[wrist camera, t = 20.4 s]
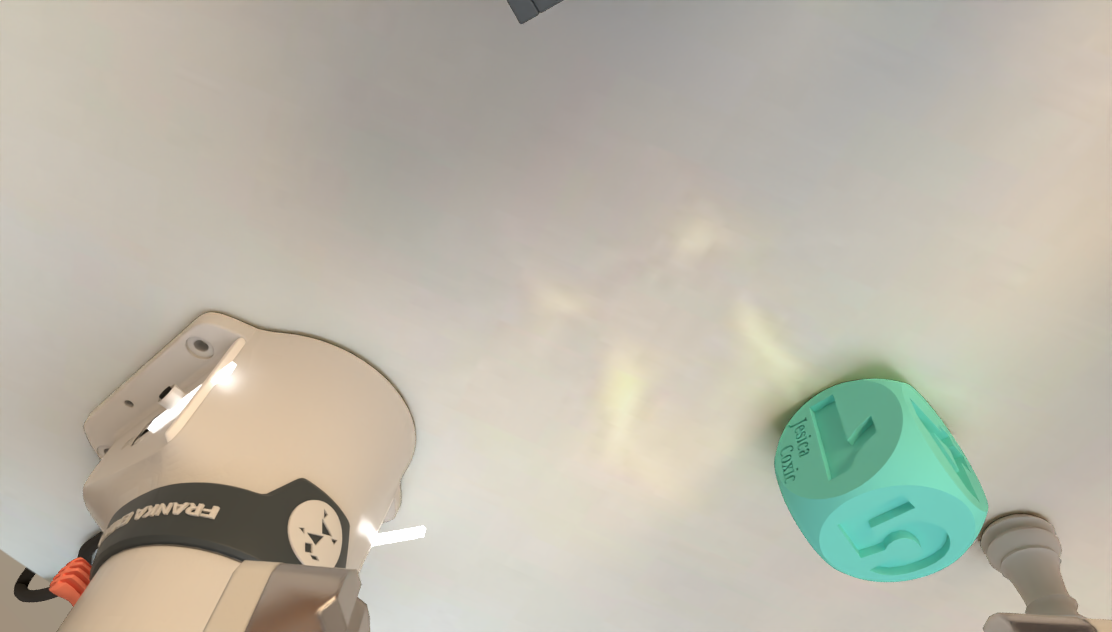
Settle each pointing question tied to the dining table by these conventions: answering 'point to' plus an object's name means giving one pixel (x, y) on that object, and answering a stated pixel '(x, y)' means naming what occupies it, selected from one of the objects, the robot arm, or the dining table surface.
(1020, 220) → the dining table surface
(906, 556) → the decorative dice
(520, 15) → the box shelf
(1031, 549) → the rook chess piece
